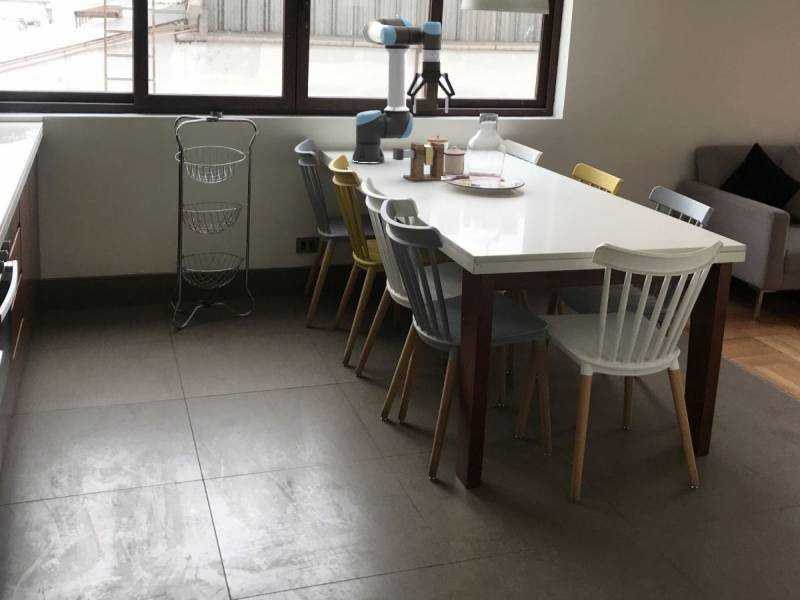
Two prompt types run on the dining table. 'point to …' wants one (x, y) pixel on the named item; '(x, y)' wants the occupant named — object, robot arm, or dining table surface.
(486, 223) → the dining table surface
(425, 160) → the block
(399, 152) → the shaft
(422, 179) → the wooden pillar stand
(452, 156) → the teacup with lid
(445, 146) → the lidded jar
